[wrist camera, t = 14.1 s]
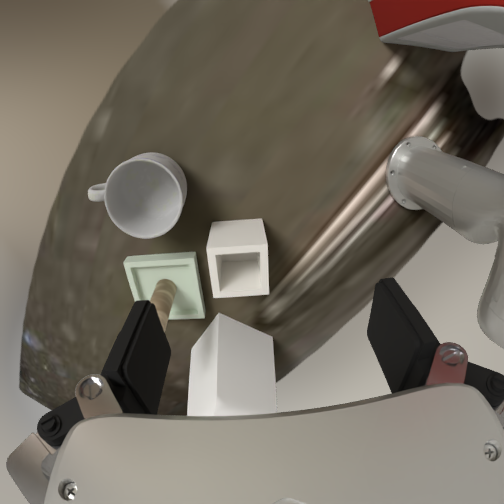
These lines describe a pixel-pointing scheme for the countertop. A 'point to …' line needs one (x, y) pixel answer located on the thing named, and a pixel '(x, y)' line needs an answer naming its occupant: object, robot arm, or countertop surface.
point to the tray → (175, 269)
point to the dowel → (164, 299)
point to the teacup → (144, 195)
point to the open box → (238, 258)
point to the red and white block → (441, 23)
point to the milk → (232, 371)
